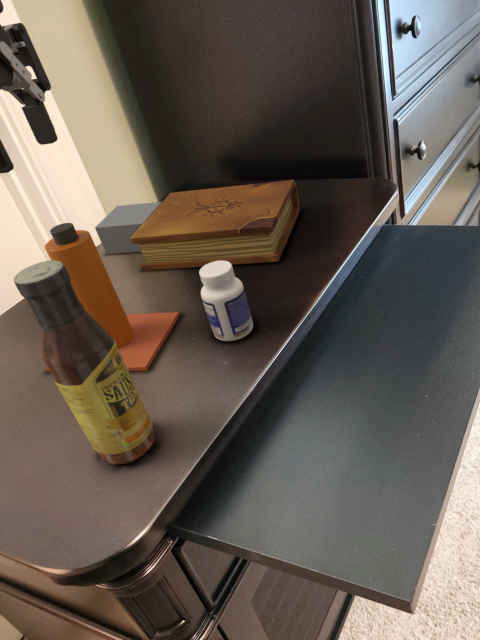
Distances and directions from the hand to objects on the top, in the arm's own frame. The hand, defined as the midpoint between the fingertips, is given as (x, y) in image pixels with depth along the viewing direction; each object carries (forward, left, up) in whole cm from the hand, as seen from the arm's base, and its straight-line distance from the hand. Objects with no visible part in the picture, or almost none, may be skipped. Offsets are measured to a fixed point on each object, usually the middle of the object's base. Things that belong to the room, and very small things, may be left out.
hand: (27, 156), depth 54 cm
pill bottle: (+16, +2, -24) cm, 29 cm away
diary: (+7, +29, -24) cm, 38 cm away
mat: (0, 0, -24) cm, 24 cm away
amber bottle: (0, 0, -23) cm, 23 cm away
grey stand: (-10, +31, -24) cm, 40 cm away
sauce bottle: (+10, -18, -24) cm, 32 cm away
